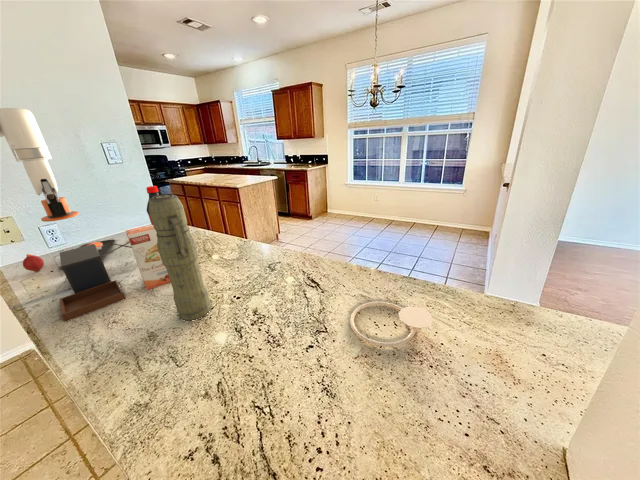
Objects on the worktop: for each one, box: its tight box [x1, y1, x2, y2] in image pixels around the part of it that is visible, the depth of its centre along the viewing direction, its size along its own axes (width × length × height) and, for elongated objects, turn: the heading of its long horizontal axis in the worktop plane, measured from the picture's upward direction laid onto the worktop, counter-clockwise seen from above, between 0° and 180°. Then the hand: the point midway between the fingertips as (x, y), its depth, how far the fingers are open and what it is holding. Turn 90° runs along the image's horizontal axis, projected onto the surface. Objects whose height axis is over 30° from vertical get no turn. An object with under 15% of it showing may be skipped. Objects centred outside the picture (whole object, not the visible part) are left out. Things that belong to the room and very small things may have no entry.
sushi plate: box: [59, 239, 132, 271], centre depth 122 cm, size 29×30×4 cm
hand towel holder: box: [349, 301, 434, 348], centre depth 68 cm, size 17×4×21 cm
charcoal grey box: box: [59, 244, 112, 294], centre depth 95 cm, size 10×16×12 cm, turn 44°
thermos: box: [148, 193, 212, 322], centre depth 71 cm, size 9×12×35 cm
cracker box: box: [125, 224, 171, 291], centre depth 92 cm, size 14×6×21 cm, turn 129°
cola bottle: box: [145, 185, 160, 225], centre depth 114 cm, size 8×8×30 cm
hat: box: [40, 196, 80, 223], centre depth 84 cm, size 9×9×6 cm
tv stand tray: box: [59, 279, 127, 323], centre depth 85 cm, size 15×12×2 cm
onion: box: [22, 253, 45, 273], centre depth 107 cm, size 6×6×8 cm
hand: (59, 213), depth 85 cm, fingers closed on hat, 5 cm apart
